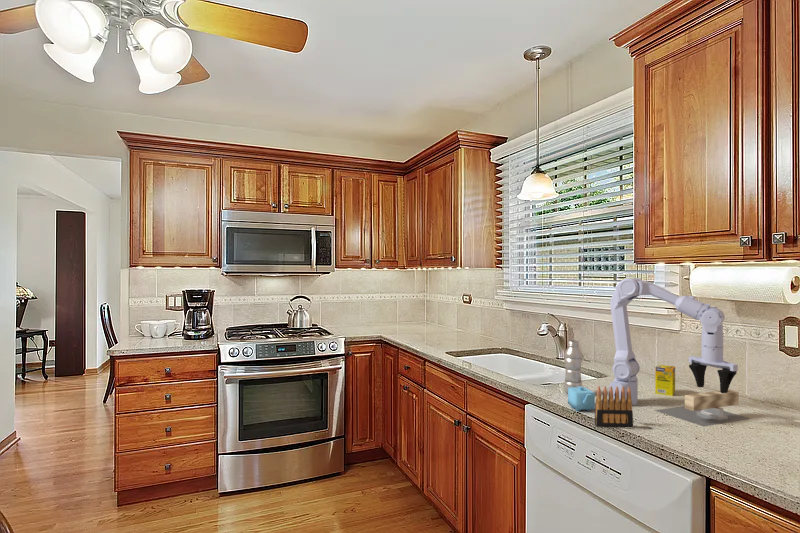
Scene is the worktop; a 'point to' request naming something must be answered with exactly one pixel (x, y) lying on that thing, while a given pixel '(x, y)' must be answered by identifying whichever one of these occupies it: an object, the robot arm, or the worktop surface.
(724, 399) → the maple batten
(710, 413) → the steel ridge
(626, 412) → the ammunition clip
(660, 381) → the supplement box
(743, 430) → the worktop surface
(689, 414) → the charcoal board
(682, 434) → the worktop surface
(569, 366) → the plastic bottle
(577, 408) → the teapot
